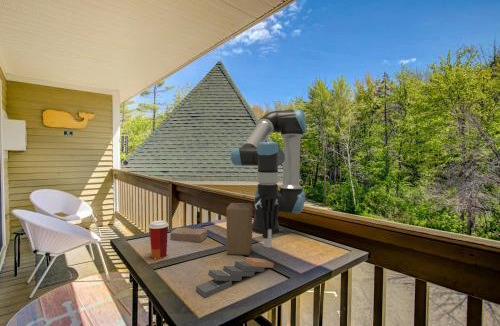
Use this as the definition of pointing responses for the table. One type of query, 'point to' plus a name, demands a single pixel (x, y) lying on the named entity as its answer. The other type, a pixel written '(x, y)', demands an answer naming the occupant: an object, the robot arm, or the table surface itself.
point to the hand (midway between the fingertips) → (267, 246)
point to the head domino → (259, 262)
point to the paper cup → (158, 238)
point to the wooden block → (239, 228)
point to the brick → (188, 234)
